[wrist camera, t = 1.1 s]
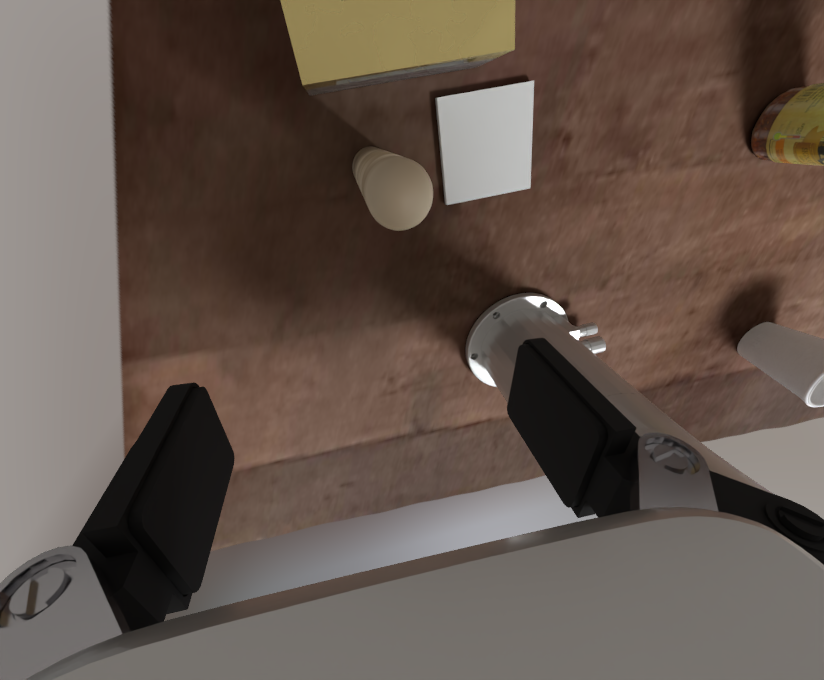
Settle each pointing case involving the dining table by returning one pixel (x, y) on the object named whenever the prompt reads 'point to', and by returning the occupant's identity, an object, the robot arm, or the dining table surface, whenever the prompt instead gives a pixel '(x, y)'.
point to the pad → (485, 141)
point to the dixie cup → (787, 359)
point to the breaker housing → (393, 39)
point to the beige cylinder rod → (393, 187)
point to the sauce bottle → (792, 128)
